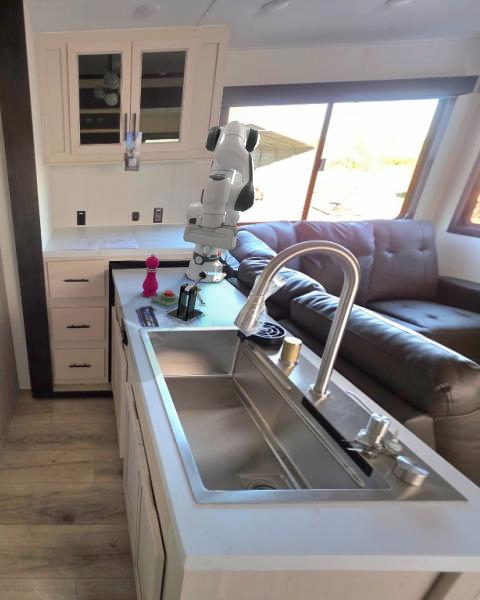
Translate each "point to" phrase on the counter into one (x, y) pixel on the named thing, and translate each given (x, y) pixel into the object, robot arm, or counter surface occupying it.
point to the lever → (201, 276)
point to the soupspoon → (199, 294)
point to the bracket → (189, 310)
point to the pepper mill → (151, 277)
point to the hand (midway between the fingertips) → (205, 256)
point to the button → (168, 293)
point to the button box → (166, 300)
